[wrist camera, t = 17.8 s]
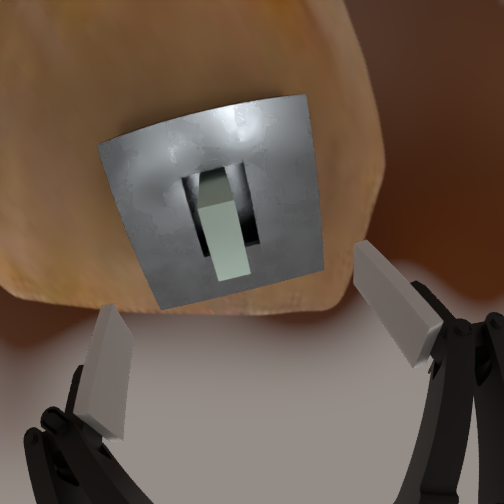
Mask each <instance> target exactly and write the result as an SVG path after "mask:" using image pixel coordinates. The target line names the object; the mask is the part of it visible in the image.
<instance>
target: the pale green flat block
mask: <svg viewBox="0 0 504 504" xmlns="http://www.w3.org/2000/svg"><path fill="white" fill-rule="evenodd" d="M197 209H198V213H199V217H200V220H201V224H202V227H203V231H204V234H205V237H206V241H207V244H208V248H209V251H210V254H211V258H212V261H213V264H214V268H215V271H216V274H217V277H218V281H223V280H227V279H231V278H236V277H240V276H244V275H248V274H251V272H250V268H249V263H248V259H247V254H246V250H245V246H244V241H243V237H242V232H241V228H240V223H239V219H238V214H237V210H236V205H235V201H234V197H233V194H232V191H231V188H230V184H229V181H228V178H227V175H226V171H225V168H224V167H221V168H216V169H212V170H208V171H204V172H200V174H199V189H198V207H197Z"/></svg>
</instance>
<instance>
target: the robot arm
mask: <svg viewBox="0 0 504 504" xmlns="http://www.w3.org/2000/svg"><path fill="white" fill-rule="evenodd" d="M354 285H355V286H356V287H357V289H358V290H359V292H360V293H361V294H362V296H363V297H364V298H365V300H366V301H367V303H368V304H369V305H370V307H371V308H372V310H373V311H374V312H375V314H376V315H377V317H378V318H379V319H380V321H381V322H382V324H383V325H384V326H385V328H386V329H387V330H388V332H389V334H390V335H391V337H392V338H393V339H394V341H395V342H396V344H397V345H398V347H399V348H400V350H401V351H402V353H403V354H404V356H405V357H406V358H407V360H408V362H409V363H410V365H411V366H412V368H413V369H415V368H417V367H418V366H420V365H422V364H424V363H426V362H427V360H428V358H429V356H430V355H431V356H432V358H433V359H434V360H433V362H432V365H431V366H430V368H429V371H428V373H429V374H430V372H431V376H430V382H429V388H428V393H427V399H426V403H425V408H424V413H423V418H422V422H421V426H420V430H419V434H418V437H417V441H416V444H415V448H414V451H413V455H412V458H411V461H410V464H409V467H408V470H407V473H406V476H405V479H404V481H403V484H402V487H401V489H400V492H399V494H398V497H397V499H396V501H395V502H394V503H393V504H458V503H459V496H458V495H457V493H456V489H457V485H458V481H459V478H460V474H461V470H462V465H463V461H464V456H465V452H466V447H467V441H468V435H469V429H470V422H471V414H472V404H473V395H474V402H475V409H476V417H477V429H478V444H479V490H478V504H504V316H503V315H502V314H499V313H497V312H492V313H489V314H488V315H487V317H486V319H485V321H484V322H479V323H473V324H471V323H470V322H468V321H467V320H465V319H456V318H455V317H454V316H453V315H452V314H451V313H450V312H449V310H448V309H447V308H446V307H445V306H444V305H443V304H442V303H441V302H440V301H439V299H437V298H436V296H435V295H434V294H432V292H431V291H430V290H429V289H428V288H427V287H426V286H425V285H423V284H421V283H420V282H418V281H414V282H411V283H409V282H408V281H407V280H406V279H405V278H404V277H403V276H402V275H401V274H400V273H399V271H397V269H395V267H394V266H393V265H392V264H391V263H390V262H389V261H388V260H387V259H386V258H385V257H384V256H383V255H382V254H381V253H380V252H379V251H378V250H377V249H376V248H375V247H373V246H372V244H370V243H369V242H368V240H364V241H361V242H357V243H355V255H354ZM133 345H134V337H133V335H132V334H131V332H130V331H129V329H128V327H127V326H126V324H125V322H124V321H123V319H122V318H121V316H120V314H119V312H118V311H117V309H116V307H115V306H114V304H109V305H104V306H102V307H101V310H100V313H99V316H98V319H97V322H96V325H95V328H94V332H93V335H92V338H91V342H90V345H89V349H88V352H87V356H86V360H85V363H84V365H79V366H78V368H77V369H76V371H75V373H74V375H73V379H72V384H71V387H70V392H69V395H68V399H67V404H66V408H65V413H64V412H63V411H61V410H60V409H59V408H57V407H55V406H54V407H49V408H48V409H46V410H45V411H44V413H43V414H42V417H41V421H40V423H41V427H42V428H43V429H45V430H46V431H44V432H42V431H40V430H39V429H37V428H35V427H32V428H30V429H28V430H27V431H26V433H25V435H24V449H25V455H26V461H27V466H28V471H29V475H30V480H31V484H32V488H33V492H34V496H35V500H36V503H37V504H154V503H153V502H152V501H151V500H150V499H149V498H148V497H147V496H146V495H145V494H144V493H143V492H142V490H141V489H140V488H139V487H138V486H137V485H136V484H135V483H134V481H133V480H132V479H131V478H130V477H129V475H128V474H127V473H126V472H125V471H124V469H123V468H122V467H121V465H120V464H119V463H118V462H117V460H116V459H115V458H114V456H113V455H112V454H111V452H110V451H109V449H108V448H107V447H106V445H104V443H102V436H103V437H104V438H106V439H107V440H109V441H123V436H124V420H125V409H126V398H127V389H128V381H129V373H130V365H131V358H132V351H133Z"/></svg>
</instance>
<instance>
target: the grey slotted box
mask: <svg viewBox="0 0 504 504" xmlns="http://www.w3.org/2000/svg"><path fill="white" fill-rule="evenodd" d="M97 147H98V151H99V154H100V157H101V161H102V164H103V167H104V170H105V173H106V176H107V179H108V182H109V185H110V188H111V191H112V194H113V197H114V200H115V203H116V205H117V208H118V211H119V214H120V216H121V219H122V221H123V224H124V227H125V229H126V232H127V234H128V237H129V239H130V242H131V244H132V247H133V249H134V252H135V254H136V256H137V259H138V261H139V263H140V266H141V268H142V270H143V272H144V275H145V277H146V279H147V281H148V283H149V286H150V288H151V290H152V292H153V294H154V296H155V298H156V301H157V303H158V305H159V307H160V309H161V310H165V309H169V308H174V307H178V306H183V305H187V304H191V303H196V302H200V301H204V300H209V299H213V298H217V297H221V296H225V295H229V294H234V293H238V292H242V291H246V290H250V289H254V288H258V287H262V286H266V285H269V284H273V283H277V282H281V281H285V280H289V279H292V278H296V277H300V276H304V275H307V274H311V273H315V272H318V271H322V270H324V258H323V241H322V226H321V213H320V201H319V191H318V180H317V171H316V162H315V154H314V146H313V138H312V130H311V123H310V116H309V110H308V103H307V97H306V94H299V95H284V96H277V97H270V98H263V99H257V100H251V101H245V102H240V103H235V104H230V105H225V106H220V107H215V108H211V109H207V110H202V111H198V112H194V113H190V114H186V115H183V116H179V117H175V118H172V119H168V120H165V121H161V122H158V123H155V124H152V125H148V126H145V127H142V128H139V129H136V130H133V131H130V132H127V133H125V134H122V135H119V136H117V137H114V138H112V139H110V140H107V141H105V142H103V143H100V144H98V145H97ZM221 167H224V168H225V171H226V175H227V178H228V181H229V184H230V188H231V191H232V194H233V197H234V201H235V205H236V210H237V214H238V219H239V223H240V228H241V232H242V237H243V241H244V246H245V250H246V254H247V259H248V263H249V268H250V272H251V274H248V275H244V276H240V277H236V278H231V279H227V280H223V281H218V277H217V274H216V271H215V268H214V264H213V261H212V258H211V254H210V251H209V248H208V244H207V241H206V237H205V234H204V231H203V227H202V224H201V220H200V217H199V213H198V209H197V207H198V189H199V174H200V172H204V171H208V170H212V169H216V168H221Z"/></svg>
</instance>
